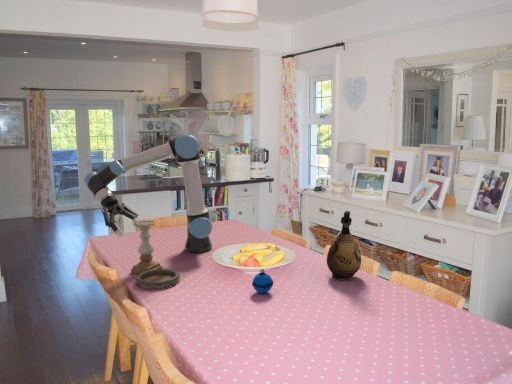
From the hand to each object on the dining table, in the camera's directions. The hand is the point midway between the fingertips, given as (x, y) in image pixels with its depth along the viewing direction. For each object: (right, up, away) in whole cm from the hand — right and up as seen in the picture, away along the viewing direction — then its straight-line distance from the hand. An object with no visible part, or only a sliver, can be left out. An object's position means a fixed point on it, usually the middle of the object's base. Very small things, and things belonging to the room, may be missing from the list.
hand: (131, 232), depth 226 cm
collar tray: (+16, -21, -15) cm, 31 cm away
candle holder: (+7, -19, 0) cm, 20 cm away
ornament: (+63, -23, -30) cm, 73 cm away
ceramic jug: (+100, -19, -12) cm, 102 cm away
